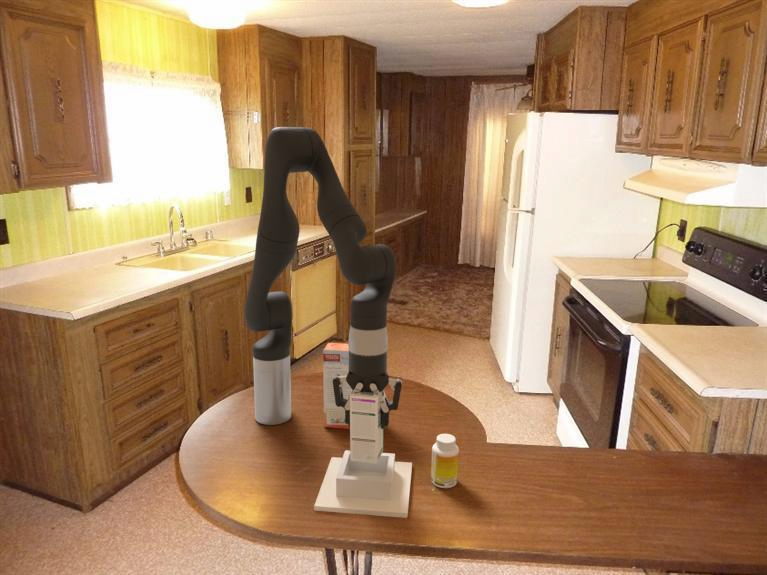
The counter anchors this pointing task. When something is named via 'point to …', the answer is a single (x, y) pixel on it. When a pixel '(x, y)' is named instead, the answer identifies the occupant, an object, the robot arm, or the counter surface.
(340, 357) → the cracker box
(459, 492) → the counter surface
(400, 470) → the sleeve holder
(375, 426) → the syrup box
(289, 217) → the robot arm
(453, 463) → the supplement bottle
